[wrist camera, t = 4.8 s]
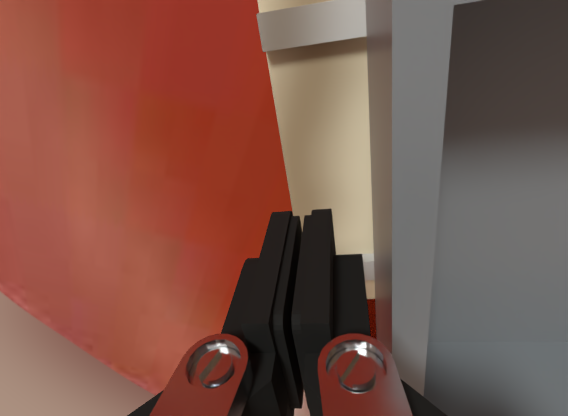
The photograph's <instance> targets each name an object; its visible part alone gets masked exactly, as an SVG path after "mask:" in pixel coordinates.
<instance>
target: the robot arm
mask: <svg viewBox="0 0 568 416" xmlns="http://www.w3.org/2000/svg"><path fill="white" fill-rule="evenodd" d="M304 392H305V397H306V401H307V406H308V409H309V412H310V416H447V415H446V414H445V413H443V412H442V411H441V410H440V409H438V408H437V407H436V406H435V405H433V404H432V403H431V402H430V401H428V400H427V399H426V398H424V397H423V396H422V395H421V394H419V393H418V392H417V391H416V390H414V389H413V388H412V387H411V386H409V385H408V384H407V383H406V382H404V381H403V380H402V379H401V378H400V376H399V373H398V370H397V367H396V364H395V361H394V359H393V357H392V355H391V353H390V351H389V350H388V349H387V348H386V347H385V346H384V345H383V344H382V343H381V342H380V341H378V340H376V339H374V338H373V337H371V334H370V324H369V315H368V305H367V295H366V286H365V276H364V266H363V257H362V254H344V255H336V248H335V238H334V228H333V217H332V209H316V210H312V212H311V215H305V216H304V223H303V231H302V227H301V221H300V216H293V213H292V211H285V212H273V213H272V214H271V217H270V221H269V225H268V228H267V232H266V235H265V239H264V242H263V246H262V250H261V253H260V257H259V258H248V259H246V260H245V263H244V265H243V268H242V271H241V274H240V277H239V280H238V283H237V286H236V289H235V292H234V295H233V298H232V301H231V305H230V308H229V311H228V314H227V317H226V320H225V323H224V326H223V329H222V332H221V334H215V335H211V336H207V337H205V338H204V339H202V340H200V341H198V342H197V343H195V344H194V345H193V346H192V347H191V348H189V350H188V351H187V352H186V354H185V355H184V356H183V358H182V359H181V361H180V363H179V365H178V366H177V368H176V370H175V372H174V373H173V375H172V377H171V379H170V380H169V382H168V384H167V386H166V387H165V389H164V390H163V391H162V392H160V393H159V394H157V395H156V396H155V397H153V398H152V399H150V400H149V401H147V402H146V403H145V404H143V405H142V406H140V407H139V408H138V409H136V410H135V411H134V412H132V413H130V414H129V415H128V416H294V410H295V408H297V409H302V405H303V394H304Z"/></svg>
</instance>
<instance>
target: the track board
mask: <svg viewBox="0 0 568 416" xmlns="http://www.w3.org/2000/svg"><path fill="white" fill-rule="evenodd" d="M257 1H258V7H259V13H258V14H256V15H257V21H258V26H259V32H260V38H261V44H262V50H263V52H266V55H267V61H268V67H269V72H270V78H271V84H272V90H273V96H274V102H275V108H276V114H277V120H278V126H279V132H280V138H281V144H282V150H283V156H284V162H285V168H286V174H287V180H288V186H289V192H290V198H291V204H292V210H293V216H300V221H301V227H302V231H303V223H304V216H305V215H311V212H312V210H316V209H332V217H333V228H334V238H335V248H336V255H344V254H362V257H363V266H364V276H365V286H366V295H367V299H375V277H374V247H373V217H372V186H371V156H370V126H369V96H368V65H367V35H366V5H365V0H257Z"/></svg>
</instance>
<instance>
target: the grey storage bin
mask: <svg viewBox="0 0 568 416" xmlns="http://www.w3.org/2000/svg"><path fill="white" fill-rule="evenodd" d="M365 5H366V35H367V65H368V96H369V126H370V156H371V186H372V217H373V247H374V277H375V308H376V336H377V340H378V341H380V342H381V343H382V344H383V345H384V346H385V347H386V348H387V349H388V350H389V351H390V353H391V355H392V357H393V359H394V361H395V364H396V367H397V370H398V373H399V376H400V378H401V379H402V380H403V381H404V382H406V383H407V384H408V385H409V386H411V387H412V388H413V389H414V390H416V391H417V392H418V393H419V394H421V395H422V396H423V397H424V398H426V399H427V400H428V401H430V402H431V403H432V404H433V405H435V406H436V407H437V408H438V409H440V410H441V411H442V412H443V413H445V414H446V415H447V416H568V0H365Z"/></svg>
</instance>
